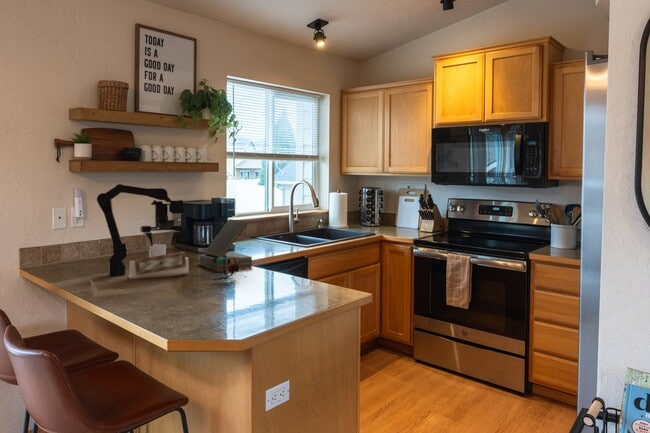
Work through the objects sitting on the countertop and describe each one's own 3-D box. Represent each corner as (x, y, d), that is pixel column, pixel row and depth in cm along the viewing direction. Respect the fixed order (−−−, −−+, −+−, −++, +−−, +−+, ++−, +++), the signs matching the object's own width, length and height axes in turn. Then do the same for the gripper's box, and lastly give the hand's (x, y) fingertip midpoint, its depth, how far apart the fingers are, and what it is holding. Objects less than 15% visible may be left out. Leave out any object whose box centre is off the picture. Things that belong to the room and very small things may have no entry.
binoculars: (221, 274, 230) (221, 253, 229) (240, 275, 227) (240, 254, 226) (211, 277, 221) (211, 255, 221) (231, 278, 218) (231, 256, 218)
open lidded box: (199, 266, 255) (199, 219, 254) (233, 263, 267) (233, 218, 266) (217, 272, 237) (216, 222, 236) (252, 268, 249) (252, 220, 247)
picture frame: (137, 275, 214) (135, 260, 213) (136, 274, 215) (134, 259, 215) (186, 266, 225) (184, 252, 224) (185, 266, 227) (183, 251, 226)
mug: (168, 267, 248) (168, 244, 248) (159, 269, 242) (159, 245, 242) (154, 266, 253) (153, 243, 252) (144, 268, 246) (144, 244, 246)
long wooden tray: (130, 279, 215) (130, 261, 214) (128, 277, 220) (128, 259, 220) (188, 274, 228) (188, 257, 228) (185, 272, 233) (185, 256, 233)
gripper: (144, 215, 219) (144, 249, 220) (185, 214, 229) (185, 246, 229) (139, 214, 228) (140, 246, 229) (179, 213, 238) (179, 244, 239)
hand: (161, 246), depth 231 cm, fingers open, 9 cm apart
